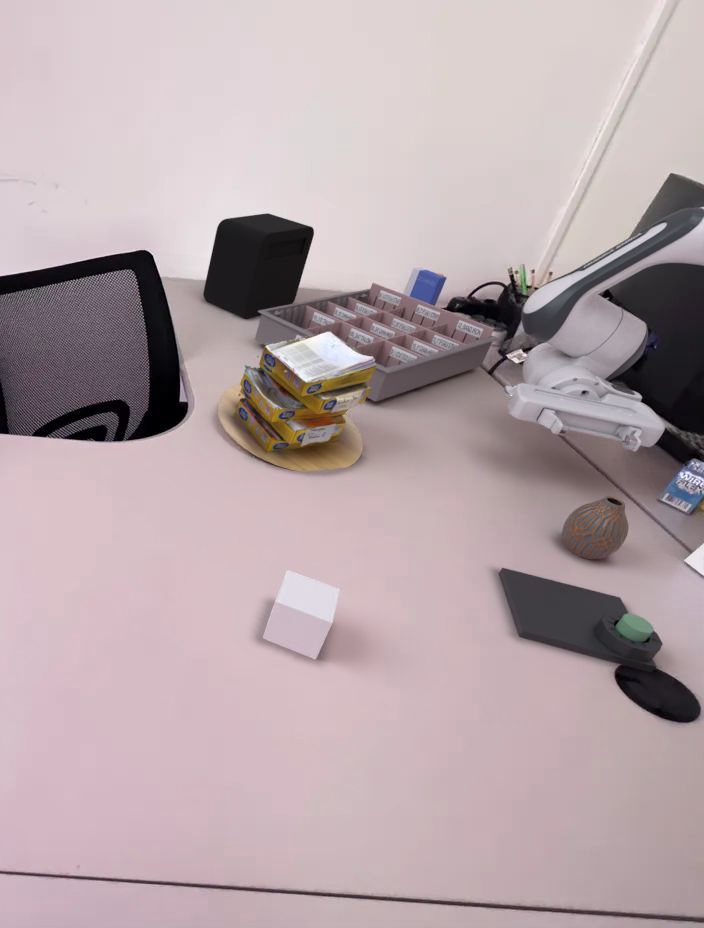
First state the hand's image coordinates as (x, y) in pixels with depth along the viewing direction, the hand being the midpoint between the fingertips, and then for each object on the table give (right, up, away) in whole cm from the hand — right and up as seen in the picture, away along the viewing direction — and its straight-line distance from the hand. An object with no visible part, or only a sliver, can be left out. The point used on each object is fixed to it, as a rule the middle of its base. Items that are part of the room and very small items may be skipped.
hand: (597, 438), depth 99 cm
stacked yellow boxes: (-40, +2, +18) cm, 44 cm away
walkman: (+10, +35, +73) cm, 82 cm away
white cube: (-52, -24, -21) cm, 61 cm away
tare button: (-12, -24, -20) cm, 34 cm away
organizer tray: (-13, +20, +48) cm, 54 cm away
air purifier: (-33, +38, +71) cm, 87 cm away
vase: (-5, -16, -3) cm, 17 cm away
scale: (-16, -23, -15) cm, 32 cm away
